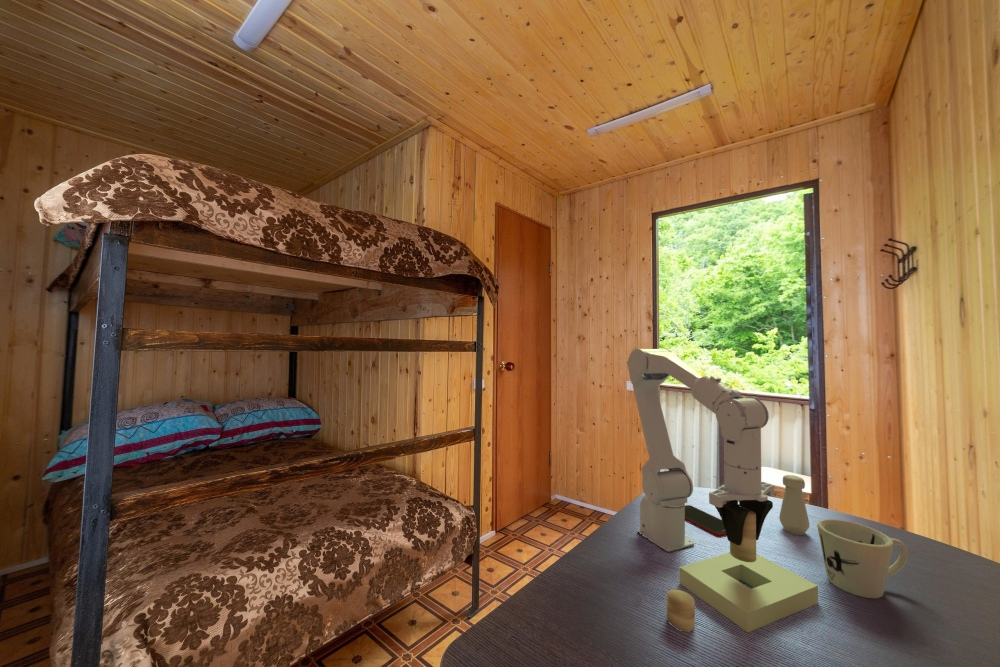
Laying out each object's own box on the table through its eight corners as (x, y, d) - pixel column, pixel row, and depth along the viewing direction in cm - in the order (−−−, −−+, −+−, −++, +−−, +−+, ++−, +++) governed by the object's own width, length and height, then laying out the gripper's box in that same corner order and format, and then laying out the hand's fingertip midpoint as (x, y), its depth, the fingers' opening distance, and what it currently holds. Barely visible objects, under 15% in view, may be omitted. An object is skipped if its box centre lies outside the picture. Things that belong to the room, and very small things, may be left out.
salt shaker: (815, 538, 87) (814, 482, 88) (787, 535, 89) (786, 480, 89) (800, 526, 93) (800, 473, 93) (774, 524, 94) (774, 471, 95)
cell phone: (689, 508, 104) (689, 504, 104) (741, 533, 91) (741, 528, 91) (668, 512, 101) (668, 509, 101) (718, 539, 88) (718, 535, 88)
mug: (804, 568, 76) (803, 517, 76) (880, 570, 75) (879, 519, 76) (850, 604, 65) (849, 545, 66) (939, 606, 65) (938, 547, 65)
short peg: (661, 617, 62) (661, 593, 62) (679, 611, 63) (679, 587, 64) (681, 635, 58) (681, 609, 58) (700, 628, 60) (700, 602, 60)
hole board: (679, 583, 71) (679, 567, 71) (744, 562, 78) (744, 547, 78) (748, 632, 59) (747, 613, 59) (818, 603, 66) (817, 585, 66)
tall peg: (725, 552, 69) (724, 508, 69) (739, 548, 71) (738, 504, 71) (747, 564, 66) (746, 517, 66) (761, 559, 67) (760, 513, 68)
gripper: (735, 476, 62) (736, 560, 62) (791, 466, 68) (792, 543, 67) (698, 463, 69) (699, 539, 68) (752, 455, 74) (753, 525, 74)
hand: (742, 540), depth 68 cm, fingers closed on tall peg, 4 cm apart
